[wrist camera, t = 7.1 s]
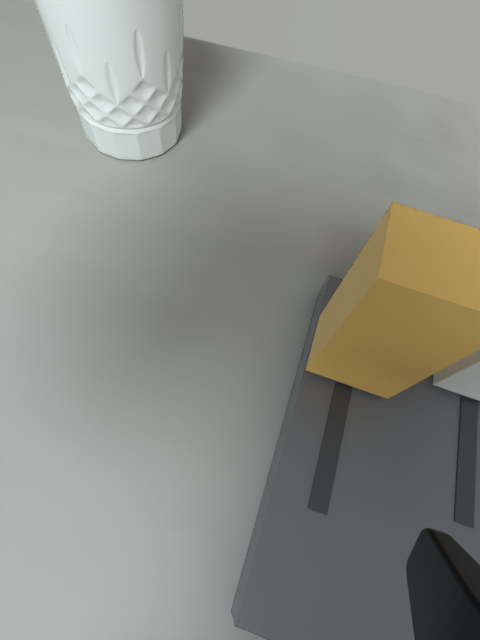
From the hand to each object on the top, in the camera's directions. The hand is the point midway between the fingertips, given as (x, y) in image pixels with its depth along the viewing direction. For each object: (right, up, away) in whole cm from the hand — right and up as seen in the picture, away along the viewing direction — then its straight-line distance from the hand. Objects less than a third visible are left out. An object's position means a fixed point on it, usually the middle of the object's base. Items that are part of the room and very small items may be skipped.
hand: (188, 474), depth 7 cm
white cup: (-7, +17, +20) cm, 27 cm away
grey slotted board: (+9, -4, +11) cm, 14 cm away
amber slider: (+6, +1, +11) cm, 12 cm away
